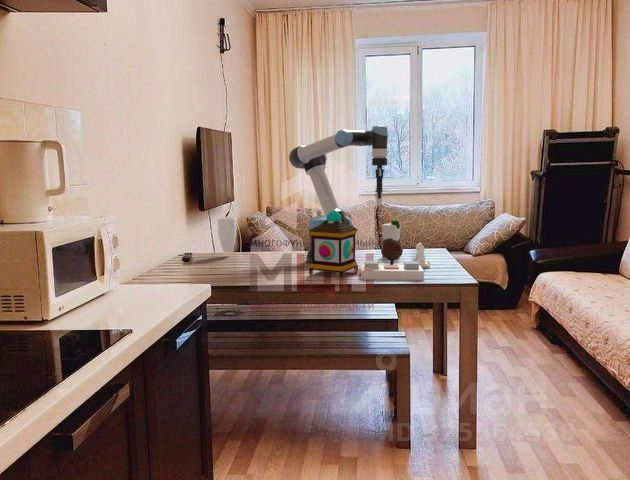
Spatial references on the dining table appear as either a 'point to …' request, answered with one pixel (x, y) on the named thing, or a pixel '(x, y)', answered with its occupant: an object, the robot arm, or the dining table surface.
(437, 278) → the dining table surface
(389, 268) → the terracotta key
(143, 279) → the dining table surface
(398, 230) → the milk carton
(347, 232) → the decorative lantern
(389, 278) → the console
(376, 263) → the sage key
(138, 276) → the dining table surface
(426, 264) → the sitting furry creature
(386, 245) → the ice cream bowl
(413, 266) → the slate key
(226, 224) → the cup
